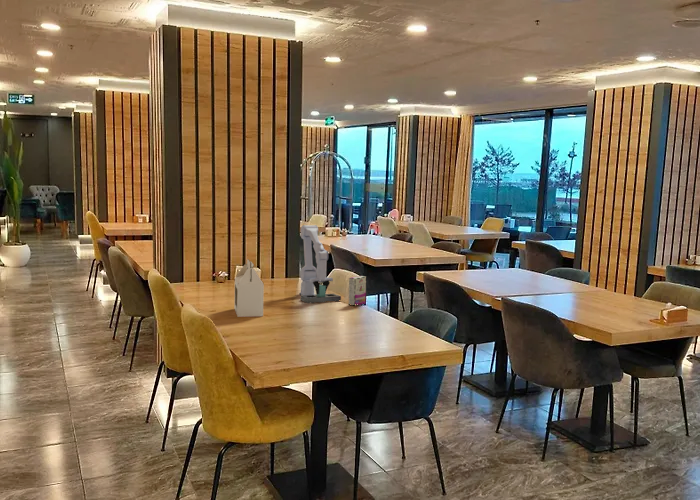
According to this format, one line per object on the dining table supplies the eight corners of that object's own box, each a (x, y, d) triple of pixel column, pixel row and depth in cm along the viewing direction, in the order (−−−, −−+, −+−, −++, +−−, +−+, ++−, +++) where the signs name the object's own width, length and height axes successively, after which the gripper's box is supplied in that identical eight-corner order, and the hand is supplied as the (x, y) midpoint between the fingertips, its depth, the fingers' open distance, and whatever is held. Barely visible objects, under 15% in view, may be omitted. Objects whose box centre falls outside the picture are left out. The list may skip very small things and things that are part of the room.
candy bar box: (359, 302, 377) (360, 275, 375) (365, 304, 374) (366, 276, 372) (347, 305, 368) (348, 277, 366) (354, 306, 365) (355, 278, 363)
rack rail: (300, 300, 378) (300, 295, 378) (333, 298, 389) (333, 293, 389) (307, 303, 370) (307, 298, 369) (340, 301, 380) (340, 296, 380)
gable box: (263, 316, 329) (264, 263, 326) (237, 317, 326) (238, 263, 323) (258, 308, 350) (259, 258, 348) (234, 308, 347) (235, 258, 344)
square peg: (316, 296, 380) (316, 285, 379) (322, 296, 382) (322, 284, 381) (319, 297, 376) (319, 286, 376) (325, 297, 378) (325, 285, 378)
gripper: (313, 272, 371) (312, 295, 372) (335, 271, 377) (334, 294, 379) (308, 270, 377) (307, 293, 378) (330, 270, 384) (329, 292, 385)
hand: (320, 293), depth 379 cm, fingers closed on square peg, 4 cm apart
